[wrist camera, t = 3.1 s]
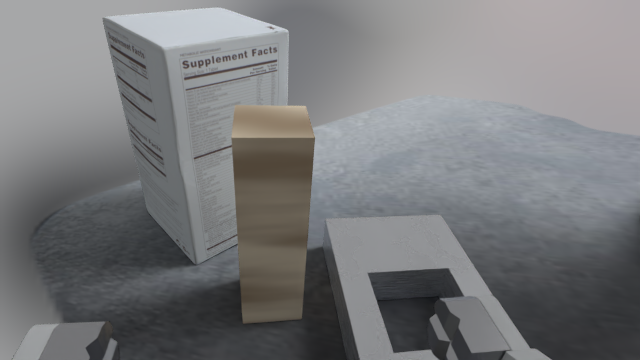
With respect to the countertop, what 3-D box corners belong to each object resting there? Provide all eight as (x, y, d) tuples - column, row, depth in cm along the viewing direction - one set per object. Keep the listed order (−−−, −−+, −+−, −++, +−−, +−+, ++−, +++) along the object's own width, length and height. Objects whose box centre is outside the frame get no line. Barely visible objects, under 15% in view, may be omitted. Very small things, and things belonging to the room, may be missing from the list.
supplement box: (232, 176, 41) (221, 5, 31) (288, 219, 35) (295, 27, 26) (142, 211, 35) (97, 13, 26) (193, 268, 29) (159, 44, 20)
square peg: (244, 278, 29) (234, 105, 21) (296, 275, 30) (305, 105, 22) (242, 323, 26) (231, 137, 18) (301, 319, 26) (314, 137, 19)
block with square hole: (322, 246, 32) (325, 218, 31) (432, 240, 34) (440, 214, 32) (380, 514, 18) (391, 488, 16) (569, 482, 19) (597, 456, 18)
